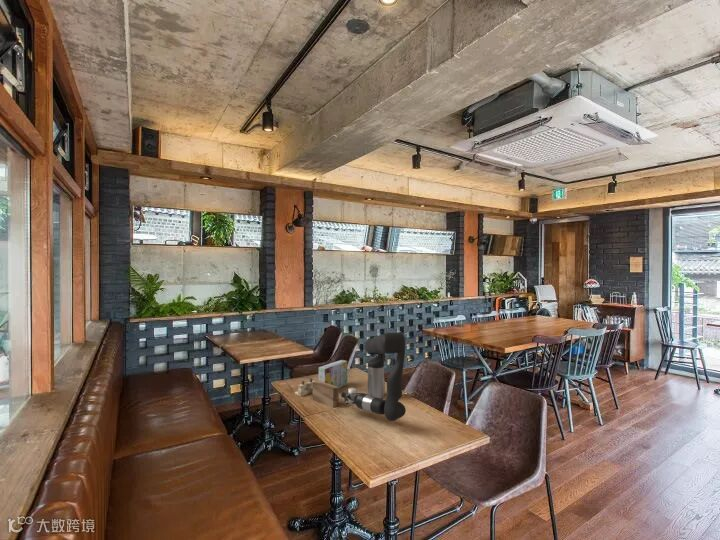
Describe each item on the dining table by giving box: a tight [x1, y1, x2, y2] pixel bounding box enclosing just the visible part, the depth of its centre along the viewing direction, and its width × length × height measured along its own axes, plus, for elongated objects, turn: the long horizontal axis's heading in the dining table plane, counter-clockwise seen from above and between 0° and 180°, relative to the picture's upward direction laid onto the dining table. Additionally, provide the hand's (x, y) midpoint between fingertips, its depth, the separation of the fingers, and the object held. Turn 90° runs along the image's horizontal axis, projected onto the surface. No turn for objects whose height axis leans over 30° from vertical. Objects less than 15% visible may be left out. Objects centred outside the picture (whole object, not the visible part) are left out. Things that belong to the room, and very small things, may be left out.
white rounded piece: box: [347, 387, 358, 394], centre depth 209 cm, size 5×5×6 cm
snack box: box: [318, 359, 348, 389], centre depth 227 cm, size 21×6×15 cm, turn 144°
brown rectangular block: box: [312, 380, 339, 408], centre depth 205 cm, size 4×16×10 cm, turn 49°
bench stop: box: [294, 377, 315, 397], centre depth 219 cm, size 11×6×8 cm, turn 139°
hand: (342, 394), depth 196 cm, fingers closed
